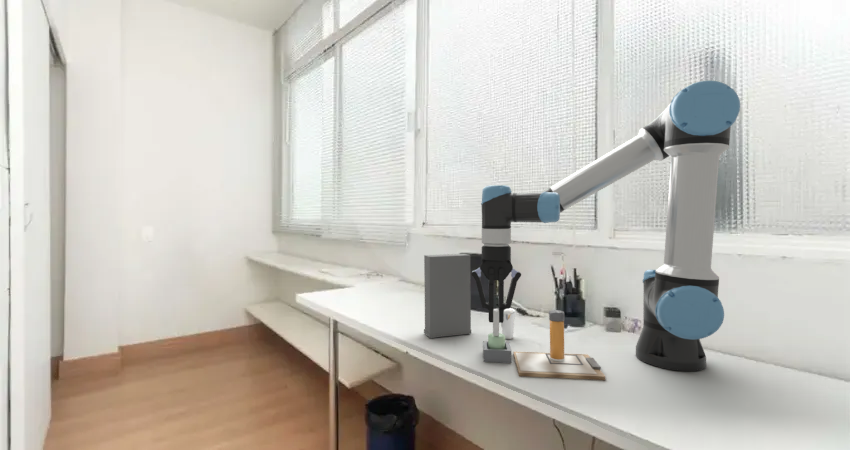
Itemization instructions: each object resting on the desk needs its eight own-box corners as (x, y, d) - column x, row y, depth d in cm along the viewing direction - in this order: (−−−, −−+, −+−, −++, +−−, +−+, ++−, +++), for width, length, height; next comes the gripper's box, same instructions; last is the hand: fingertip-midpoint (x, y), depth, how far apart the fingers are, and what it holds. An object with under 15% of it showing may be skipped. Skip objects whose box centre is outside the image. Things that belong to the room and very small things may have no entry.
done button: (504, 348, 102) (504, 333, 102) (505, 353, 98) (505, 338, 98) (488, 347, 103) (487, 332, 103) (488, 353, 99) (488, 337, 99)
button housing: (509, 353, 104) (509, 342, 104) (511, 362, 97) (511, 351, 97) (483, 352, 105) (483, 341, 105) (483, 361, 98) (483, 349, 98)
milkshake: (518, 340, 114) (518, 307, 114) (500, 339, 115) (499, 306, 115) (517, 335, 119) (517, 303, 118) (500, 334, 120) (500, 303, 119)
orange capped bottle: (563, 357, 98) (562, 310, 98) (566, 362, 94) (565, 313, 94) (548, 356, 98) (547, 310, 98) (551, 361, 95) (550, 313, 95)
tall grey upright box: (463, 328, 127) (462, 253, 126) (471, 334, 121) (470, 255, 120) (423, 333, 122) (423, 255, 122) (429, 339, 116) (429, 256, 116)
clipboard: (588, 357, 100) (588, 352, 100) (606, 380, 86) (606, 373, 86) (513, 354, 102) (513, 349, 102) (518, 375, 89) (518, 370, 89)
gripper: (520, 244, 103) (519, 331, 103) (471, 243, 105) (471, 329, 105) (523, 246, 95) (523, 340, 96) (470, 245, 97) (470, 338, 98)
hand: (495, 334), depth 101 cm, fingers closed
